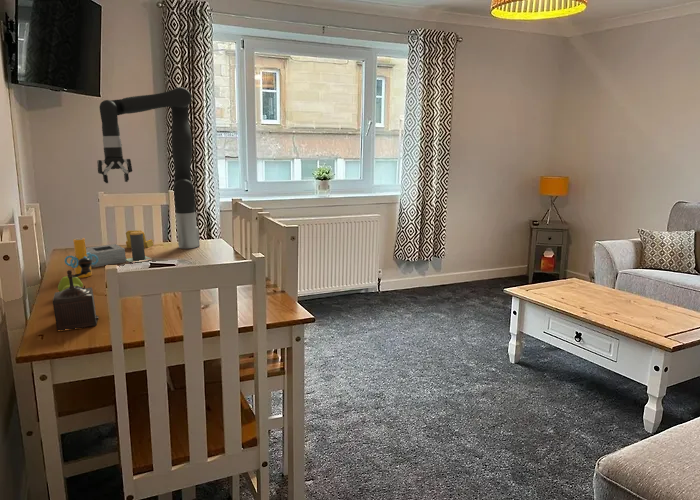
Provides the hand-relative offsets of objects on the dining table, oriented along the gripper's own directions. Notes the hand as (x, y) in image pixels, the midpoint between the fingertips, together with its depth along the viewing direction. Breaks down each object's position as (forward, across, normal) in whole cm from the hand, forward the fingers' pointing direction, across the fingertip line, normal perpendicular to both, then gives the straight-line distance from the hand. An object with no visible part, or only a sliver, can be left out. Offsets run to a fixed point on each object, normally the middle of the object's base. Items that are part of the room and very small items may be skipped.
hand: (116, 182), depth 239 cm
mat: (+33, 0, +19) cm, 38 cm away
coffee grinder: (+33, +39, +85) cm, 99 cm away
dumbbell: (+34, +36, +62) cm, 79 cm away
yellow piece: (+34, -10, -9) cm, 36 cm away
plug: (+33, 0, +19) cm, 38 cm away
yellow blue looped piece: (+33, +25, +31) cm, 52 cm away
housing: (+33, +12, +12) cm, 37 cm away
